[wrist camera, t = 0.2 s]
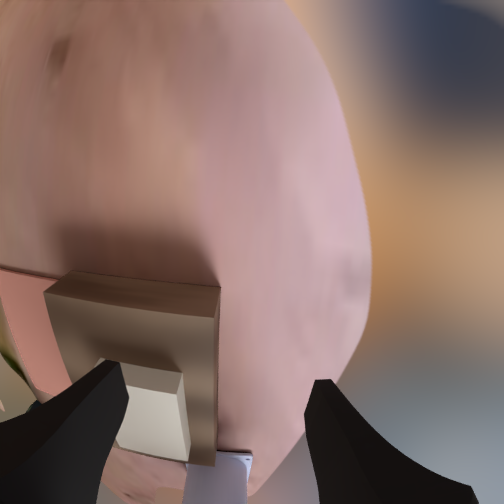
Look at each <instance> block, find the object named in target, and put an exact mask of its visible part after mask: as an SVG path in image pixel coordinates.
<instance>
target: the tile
mask: <svg viewBox="0 0 504 504" xmlns="http://www.w3.org/2000/svg"><path fill="white" fill-rule="evenodd" d="M104 360H105V359H104V358H100V359H99V361H98V362H97V364H96V365H95V367H96V366H97V365H99V364H100V363H101V362H103V361H104ZM108 360H109V359H108ZM112 361H113V360H112ZM120 365H121V369H122V373H123V377H124V380H125V384H126V388H127V391H128V394H129V402H128V406H127V409H126V413H125V416H124V420H123V422H122V424H121V427H120V429H119V431H118V434H117V436H116V440H117V442H118V444H119V446H120V447H122V448H126V449H130V450H134V451H138V452H142V453H146V454H151V455H155V456H160V457H165V458H171V459H176V460H182V461H188V458H189V452H190V446H191V440H190V433H189V426H188V419H187V411H186V402H185V393H184V384H183V373H179V372H172V371H166V370H159V369H153V368H148V367H142V366H137V365H132V364H127V363H122V362H120ZM95 367H94V368H95Z"/></svg>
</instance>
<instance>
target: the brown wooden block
mask: <svg viewBox="0 0 504 504" xmlns="http://www.w3.org/2000/svg"><path fill="white" fill-rule="evenodd" d="M220 293H221V287H213V286H202V285H191V284H180V283H170V282H160V281H151V280H142V279H133V278H125V277H116V276H108V275H101V274H93V273H85V272H78V271H70V272H69V273H68V274H66V275H65V276H63V277H62V278H61V279H59V280H58V281H57V282H55V283H54V284H53V285H51V286H50V287H49V288H47V289H46V290H45V291H43V295H44V299H45V303H46V307H47V311H48V315H49V319H50V322H51V326H52V329H53V333H54V336H55V339H56V342H57V345H58V348H59V351H60V354H61V357H62V360H63V362H64V365H65V368H66V370H67V373H68V375H69V378H70V380H71V383H72V384H74V383H75V382H76V381H78V380H79V379H80V378H82V377H83V376H84V375H86V374H87V373H88V372H89V371H91V370H92V369H93V368H94V367H95V365H96V364H97V362H98V361H99V359H100V358H104V359H109V360H113V361H117V362H122V363H127V364H132V365H137V366H142V367H148V368H153V369H159V370H166V371H172V372H179V373H183V384H184V393H185V402H186V411H187V419H188V426H189V433H190V440H191V446H190V452H189V458H188V461H182V460H176V459H171V458H165V457H160V456H155V455H151V454H146V453H142V452H138V451H134V450H130V449H126V448H122V447H120V446H119V444H118V442H117V440H116V438H115V441H114V443H113V446H112V447H115V448H118V449H122V450H125V451H129V452H133V453H137V454H141V455H145V456H149V457H154V458H159V459H164V460H169V461H175V462H181V463H187V464H194V465H202V466H211V467H215V461H216V450H217V439H218V354H219V319H220Z"/></svg>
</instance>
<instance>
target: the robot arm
mask: <svg viewBox="0 0 504 504" xmlns="http://www.w3.org/2000/svg"><path fill="white" fill-rule="evenodd" d="M128 402H129V394H128V391H127V388H126V384H125V380H124V377H123V373H122V369H121V365H120V362H117V361H112V360H108V359H105V360H104V361H103V362H101V363H100V364H99V365H97V366H96V367H95V368H93V369H92V370H91V371H89V372H88V373H87V374H86V375H84V376H83V377H82V378H80V379H79V380H78V381H76V382H75V383H74V384H72V385H71V386H70V387H68V388H67V389H65V390H64V391H62V392H61V393H59V394H58V395H56V396H55V397H53V398H52V399H50V400H49V401H47V402H45V403H44V404H42V405H40V406H38V407H37V408H35V409H33V410H31V411H29V412H27V413H25V414H23V415H20V416H17V417H15V418H12V419H10V420H7V421H4V422H1V423H0V504H96V500H97V495H98V489H99V484H100V480H101V476H102V472H103V469H104V466H105V463H106V460H107V457H108V455H109V453H110V450H111V448H112V446H113V443H114V441H115V438H116V436H117V434H118V431H119V429H120V427H121V424H122V422H123V420H124V416H125V413H126V409H127V406H128ZM304 419H305V430H306V438H307V442H308V446H309V451H310V454H311V459H312V463H313V467H314V472H315V476H316V480H317V485H318V491H319V501H320V504H479V502H478V500H477V498H476V496H475V494H474V491H473V489H472V488H471V486H469V485H465V484H462V483H459V482H456V481H453V480H450V479H448V478H445V477H443V476H441V475H439V474H436V473H434V472H432V471H430V470H428V469H427V468H425V467H423V466H422V465H420V464H418V463H417V462H415V461H413V460H412V459H410V458H409V457H407V456H405V455H404V454H403V453H401V452H400V451H399V450H398V449H396V448H395V447H394V446H392V445H391V444H390V443H389V442H387V441H386V440H385V439H384V438H383V437H382V436H381V435H380V434H379V433H378V432H377V431H375V429H374V428H373V427H371V425H370V424H368V422H367V421H366V420H365V419H364V418H363V417H362V416H361V415H360V414H359V412H358V411H357V410H356V409H355V408H354V407H353V406H352V404H351V403H350V402H349V401H348V400H347V398H346V397H345V396H344V395H343V393H342V392H341V391H340V390H339V388H338V387H337V386H336V385H335V383H334V382H333V381H332V380H331V379H323V380H315V382H314V385H313V388H312V391H311V394H310V398H309V401H308V404H307V407H306V410H305V413H304ZM252 459H253V455H252V454H251V453H234V452H220V451H216V461H215V467H211V466H202V465H194V464H187V463H185V464H186V468H187V475H186V482H185V488H184V496H183V501H182V504H247V483H248V478H249V473H250V469H251V464H252Z"/></svg>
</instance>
